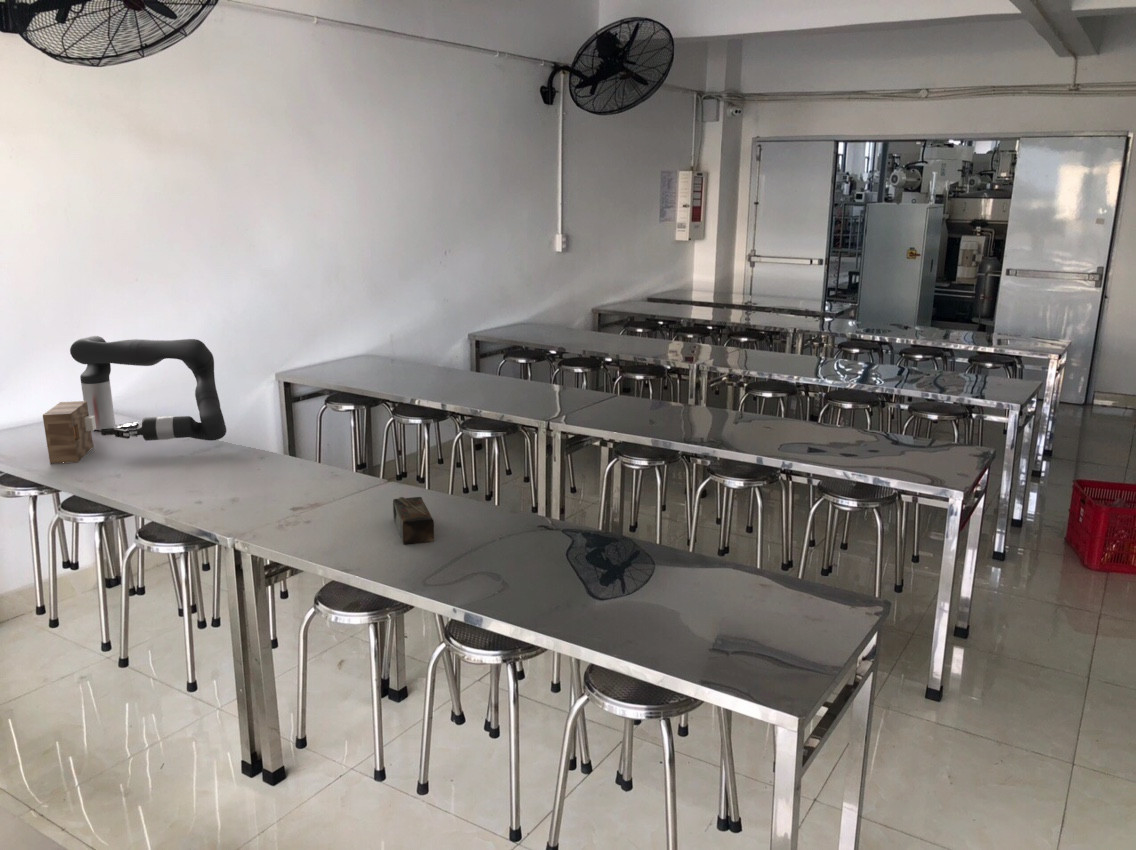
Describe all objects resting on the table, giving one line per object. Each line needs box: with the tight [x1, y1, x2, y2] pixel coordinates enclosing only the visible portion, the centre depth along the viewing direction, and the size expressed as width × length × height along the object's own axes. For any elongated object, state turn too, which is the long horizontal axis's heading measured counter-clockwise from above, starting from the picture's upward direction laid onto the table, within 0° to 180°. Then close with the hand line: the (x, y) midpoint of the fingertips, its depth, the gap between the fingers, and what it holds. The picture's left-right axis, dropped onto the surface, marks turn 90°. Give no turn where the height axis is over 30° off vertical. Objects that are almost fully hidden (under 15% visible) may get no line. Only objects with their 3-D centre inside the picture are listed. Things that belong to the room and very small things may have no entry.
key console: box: [42, 400, 94, 464], centre depth 290 cm, size 18×8×16 cm, turn 13°
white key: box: [84, 416, 96, 432], centre depth 296 cm, size 4×5×4 cm
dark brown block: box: [392, 496, 435, 545], centre depth 227 cm, size 8×19×7 cm, turn 18°
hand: (101, 431), depth 287 cm, fingers closed
